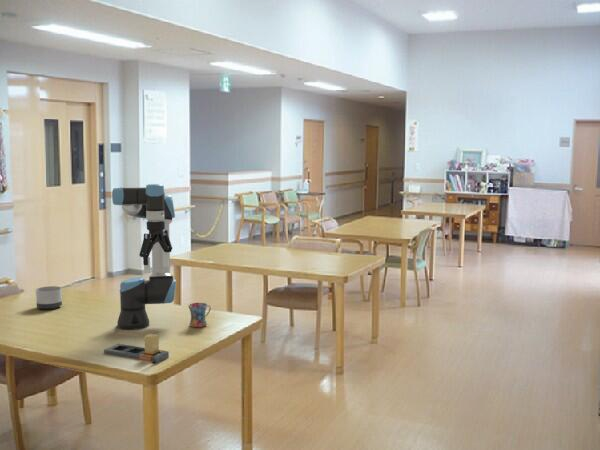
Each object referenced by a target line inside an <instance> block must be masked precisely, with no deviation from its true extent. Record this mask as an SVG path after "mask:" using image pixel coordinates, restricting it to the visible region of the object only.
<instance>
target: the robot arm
mask: <svg viewBox="0 0 600 450" xmlns="http://www.w3.org/2000/svg"><path fill="white" fill-rule="evenodd" d="M111 199H112V204H113V205H114V206H121V208H122V210H123V212H124V213H125V214H127V215H129V216H131V217H133V218H138V219H146V220H147V221H146V230H147V231H148V233H143V240H142V245H141V248H140V251H139V257H140V258H142V262H143V263H142V264H143V273H145V274H150V273H151V274H150V275H149V276H148V280H146V279H145V277H143V276H135V277H129V278H126V279H124V280H122V281H121V282H120V283H119V296H120V297H119V299H120V300H119V301H120V302H119V303H120V312H119V316H118V318H117V321H116V322H117V325H116V326H117V328H118V329H120V330H128V331H129V330H139V329H144V328H147V327H149V326H150V319H149V316H148V314H147V310H146V305H159V304H161V305H165V304H171V303H174V300H175V294H176V286H177V280H176V279H175V278H174V275H173V274H172V273H171V258H170V257H171V253H172V250H173V246H172V243H171V240H170V224H171V223H172V222H173V219H174V218H176V214H175V207H174V202H173V201H174V200H173V196H172V195H170V194H166V193H165V186H164V185H163V184H162V183H149V184H146V185H145V187H114V188H113V189H112V192H111ZM150 254H151V257H150ZM151 265H152V266H151ZM151 267H152V269H151Z"/></svg>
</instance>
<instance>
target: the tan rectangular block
mask: <svg viewBox="0 0 600 450" xmlns="http://www.w3.org/2000/svg"><path fill="white" fill-rule="evenodd" d="M159 337H160V336H159V334H156V333H148V334H146V335H145V336H144V348H145V354H146V355H152V356H155V355H157V354H159V350H160V346H159V343H160V342H159V340H160V339H159Z"/></svg>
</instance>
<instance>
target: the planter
mask: <svg viewBox="0 0 600 450" xmlns="http://www.w3.org/2000/svg"><path fill="white" fill-rule="evenodd" d="M62 295H63V294H62V287H61V286H56V285H55V286H54V285H53V286H51V285H50V286H41V287H38V288H36V289H35V300H36V301H35V302H36V307H37V308H38V309H41V310H44V309H49V310H54V309H53V308H55V309H57V307H58V308H59V307H61V306H62V305H63V297H62Z"/></svg>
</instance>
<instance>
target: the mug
mask: <svg viewBox="0 0 600 450" xmlns="http://www.w3.org/2000/svg"><path fill="white" fill-rule="evenodd" d="M187 307H188V309H189V311H190V322H189V324H188V325H189V326H190V327H192V328H202V327H206V326H207V324H208V323H207V321H206V317H207V316H208V315H209V313H210V312H211V310H212V307H211V306H210V305H208V303H206V302H192V303H189V304H187ZM207 307H208V308H209V309H208V312H207V313H206V310H207Z"/></svg>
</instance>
